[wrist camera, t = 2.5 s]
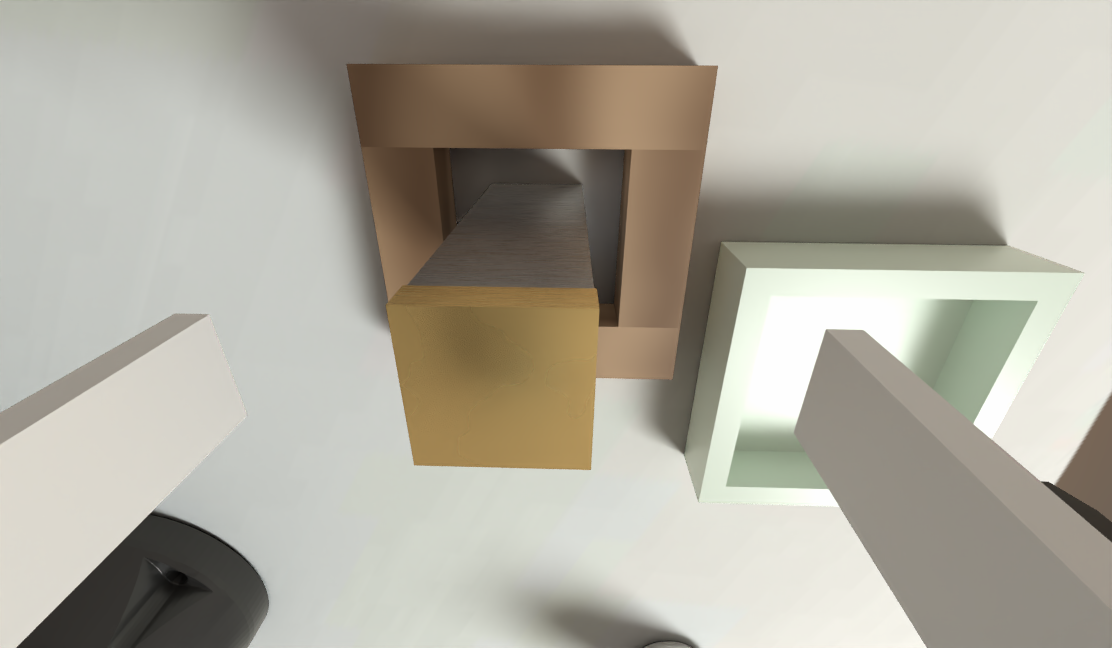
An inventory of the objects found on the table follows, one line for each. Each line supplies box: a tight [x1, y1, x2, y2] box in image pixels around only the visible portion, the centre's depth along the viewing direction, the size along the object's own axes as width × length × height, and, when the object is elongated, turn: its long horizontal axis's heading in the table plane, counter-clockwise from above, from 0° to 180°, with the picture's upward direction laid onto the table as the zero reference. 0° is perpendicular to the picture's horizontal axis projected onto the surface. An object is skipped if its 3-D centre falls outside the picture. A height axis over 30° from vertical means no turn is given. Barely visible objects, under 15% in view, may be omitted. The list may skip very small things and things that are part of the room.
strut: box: [386, 183, 599, 470], centre depth 16 cm, size 4×4×13 cm
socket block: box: [347, 64, 718, 379], centre depth 20 cm, size 13×13×2 cm
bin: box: [684, 242, 1085, 506], centre depth 23 cm, size 13×13×4 cm
